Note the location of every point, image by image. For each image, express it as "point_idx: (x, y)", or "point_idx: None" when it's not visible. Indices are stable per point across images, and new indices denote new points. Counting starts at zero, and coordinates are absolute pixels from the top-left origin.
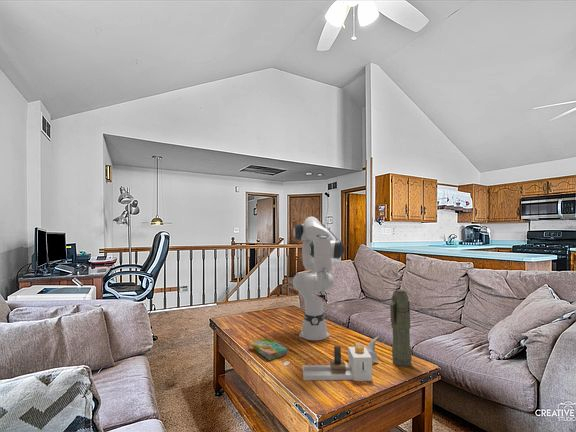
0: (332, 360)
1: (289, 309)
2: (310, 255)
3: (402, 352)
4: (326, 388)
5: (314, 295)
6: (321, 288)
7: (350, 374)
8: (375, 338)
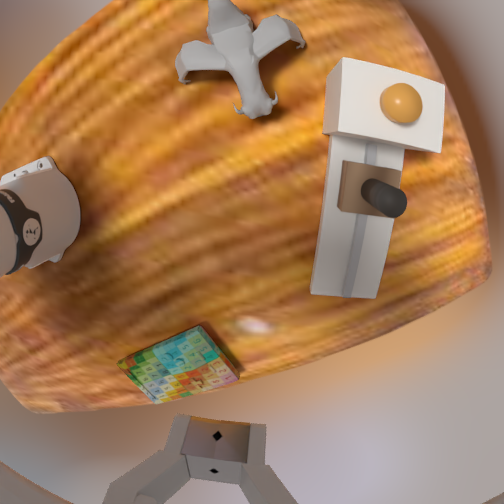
0: (350, 204)
1: None
2: None
3: None
4: (425, 240)
5: None
6: (170, 495)
7: (399, 155)
8: None
